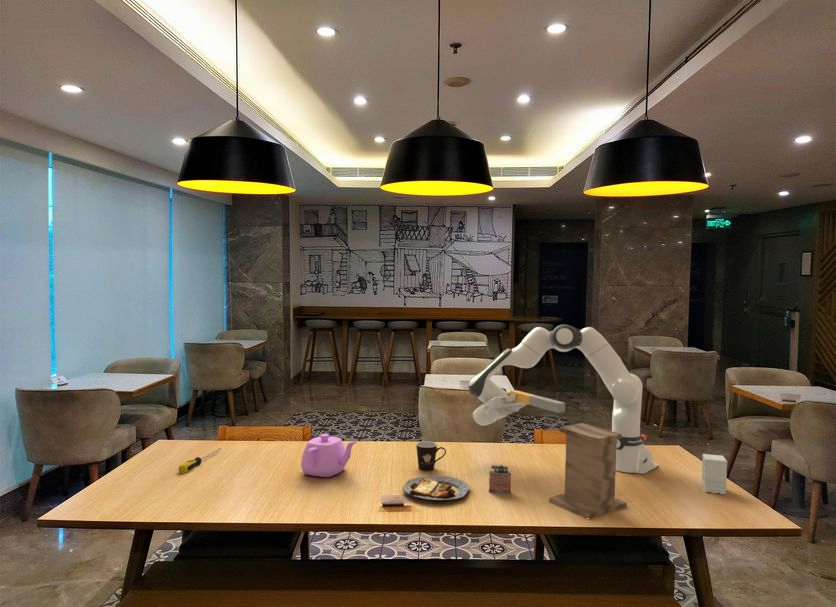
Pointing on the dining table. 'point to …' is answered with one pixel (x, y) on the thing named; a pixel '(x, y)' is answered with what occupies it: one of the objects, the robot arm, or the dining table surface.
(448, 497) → the food plate
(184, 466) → the screwdriver
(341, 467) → the teapot
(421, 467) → the coffee mug
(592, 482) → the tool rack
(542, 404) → the gray and orange bar
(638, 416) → the robot arm
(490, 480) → the lighter
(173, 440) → the dining table surface
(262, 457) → the dining table surface
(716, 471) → the supplement box
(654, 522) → the dining table surface
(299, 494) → the dining table surface
